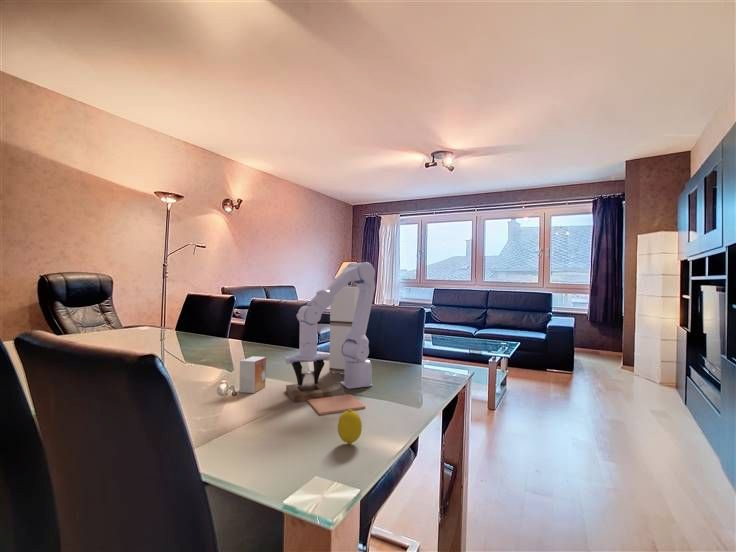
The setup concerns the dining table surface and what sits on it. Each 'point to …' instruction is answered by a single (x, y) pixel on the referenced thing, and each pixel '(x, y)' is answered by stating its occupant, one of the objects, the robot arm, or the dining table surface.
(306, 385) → the end cover
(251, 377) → the small box
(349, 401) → the tile
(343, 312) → the white tall column
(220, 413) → the dining table surface
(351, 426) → the lemon
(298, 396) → the bore block
